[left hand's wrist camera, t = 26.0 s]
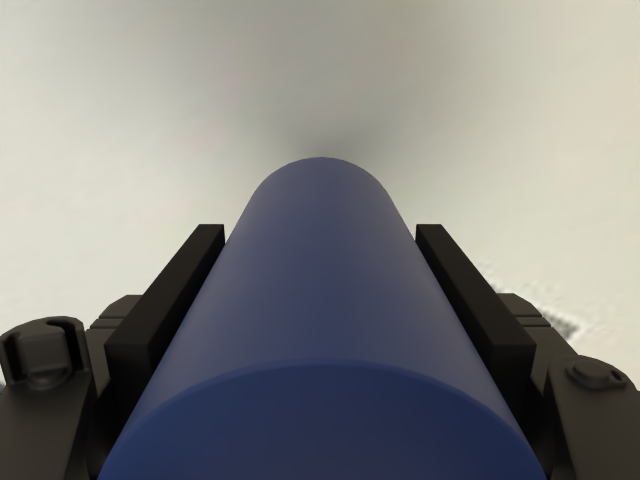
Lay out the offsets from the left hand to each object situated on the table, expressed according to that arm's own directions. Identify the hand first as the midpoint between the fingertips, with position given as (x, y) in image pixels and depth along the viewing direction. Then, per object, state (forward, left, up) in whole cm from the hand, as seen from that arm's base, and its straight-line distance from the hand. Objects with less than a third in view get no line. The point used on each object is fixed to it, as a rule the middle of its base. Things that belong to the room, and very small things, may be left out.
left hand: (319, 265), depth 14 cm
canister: (0, 0, -3) cm, 3 cm away
